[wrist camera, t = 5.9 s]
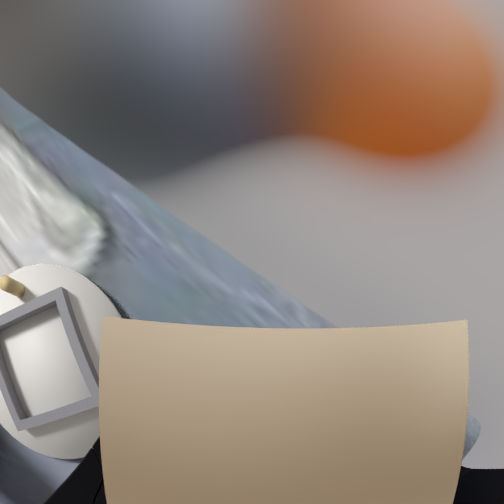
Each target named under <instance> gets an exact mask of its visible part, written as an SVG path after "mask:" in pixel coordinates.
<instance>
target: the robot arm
mask: <svg viewBox="0 0 504 504" xmlns="http://www.w3.org/2000/svg"><path fill="white" fill-rule="evenodd" d="M43 504H107V501H106V494H105V487H104V479H103V470H102V459H101V447H100V436H99V437H98V439H97V440H96V441H95V443H94V444H93V446H92V448H90V450H89V451H88V453H87V454H86V455H85V457H84V458H83V460H82V461H81V462H80V464H79V465H78V466H77V468H76V469H75V470H74V471H73V472H72V473H71V474H70V476H69V477H68V478H67V479H66V480H65V481H64V482H63V483H62V484H61V485H60V486H59V487H58V488H57V490H56V491H55V492H54V493H53V494H52V495H51V496H50V497H49V498H48V499H47V500H46V501H45V502H44V503H43ZM453 504H504V469H470V468H466V467H463V466H461V469H460V474H459V479H458V484H457V488H456V492H455V496H454V500H453Z"/></svg>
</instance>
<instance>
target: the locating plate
mask: <svg viewBox="0 0 504 504" xmlns="http://www.w3.org/2000/svg"><path fill="white" fill-rule="evenodd" d="M103 316H107V317H115V318H122V316H121V315H120V313H119V312H118V310H117V308H116V307H115V305H114V304H113V303H112V302H111V300H110V299H109V298H108V297H107V295H106V294H105V293H103V292H102V291H101V290H100V289H99V288H98V287H97V286H96V285H95V284H93V283H92V282H91V281H90V280H88V279H87V278H86V277H84V276H83V275H81V274H79V273H77V272H76V271H74V270H71V269H69V268H66V267H63V266H59V265H55V264H34V265H30V266H26V267H23V268H20V269H18V270H16V271H14V272H12V273H11V274H9V275H8V276H7V275H4V276H2V277H1V279H0V423H1V424H2V426H3V427H4V428H5V429H6V430H7V431H8V432H9V433H10V434H11V435H12V436H13V437H14V438H15V439H17V440H18V441H19V442H21V443H22V444H23V445H25V446H27V447H28V448H30V449H32V450H33V451H36V452H38V453H40V454H42V455H46V456H49V457H53V458H59V459H77V458H82V457H85V455H86V454H87V453H88V451H89V450H90V448H92V446H93V444H94V443H95V441H96V440H97V439H98V437H99V436H100V429H99V361H100V342H101V329H102V318H103Z"/></svg>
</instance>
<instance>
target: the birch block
mask: <svg viewBox="0 0 504 504" xmlns="http://www.w3.org/2000/svg"><path fill="white" fill-rule="evenodd" d="M468 399H469V342H468V326H467V320H460V321H451V322H442V323H431V324H417V325H403V326H387V327H366V328H328V329H280V328H242V327H220V326H203V325H188V324H175V323H163V322H152V321H142V320H133V319H124V318H115V317H107V316H103V318H102V329H101V342H100V361H99V429H100V447H101V459H102V470H103V479H104V487H105V494H106V501H107V504H453V500H454V496H455V492H456V488H457V484H458V479H459V474H460V469H461V463H462V457H463V450H464V443H465V435H466V426H467V415H468Z"/></svg>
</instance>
